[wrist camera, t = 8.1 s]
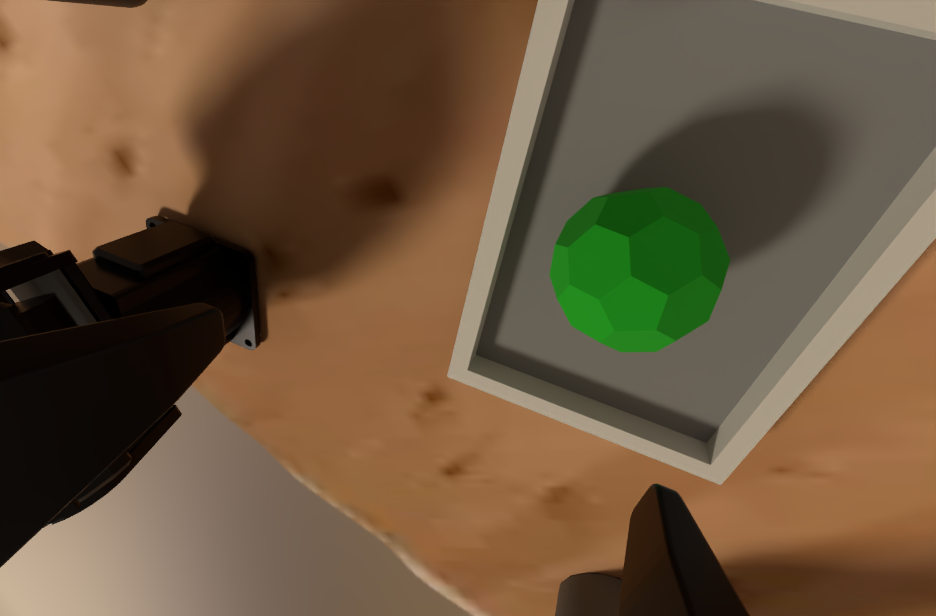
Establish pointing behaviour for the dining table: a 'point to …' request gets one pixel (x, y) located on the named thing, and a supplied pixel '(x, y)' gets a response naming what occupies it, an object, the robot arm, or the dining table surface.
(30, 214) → the dining table surface
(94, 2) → the leaning round-cornered charcoal block
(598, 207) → the polyhedron
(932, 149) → the tray
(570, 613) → the candle holder
